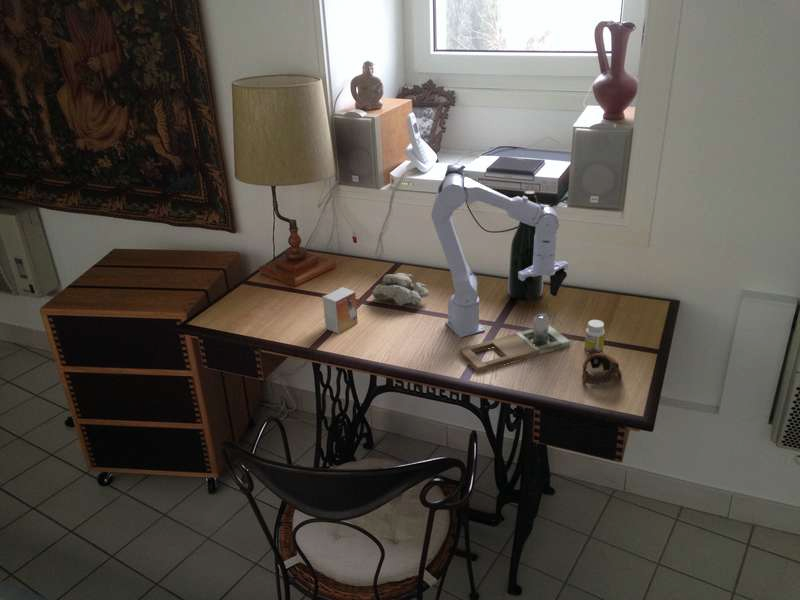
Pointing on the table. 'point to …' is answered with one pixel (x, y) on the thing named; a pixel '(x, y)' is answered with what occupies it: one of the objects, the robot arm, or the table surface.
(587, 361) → the pottery mug
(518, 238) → the dark green wine bottle
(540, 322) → the peg
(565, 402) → the table surface
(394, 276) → the mineral
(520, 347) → the board with square holes
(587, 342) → the supplement bottle
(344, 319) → the small box
